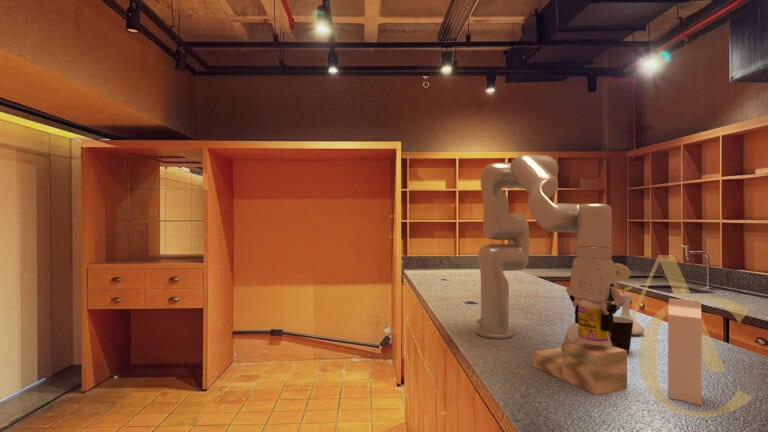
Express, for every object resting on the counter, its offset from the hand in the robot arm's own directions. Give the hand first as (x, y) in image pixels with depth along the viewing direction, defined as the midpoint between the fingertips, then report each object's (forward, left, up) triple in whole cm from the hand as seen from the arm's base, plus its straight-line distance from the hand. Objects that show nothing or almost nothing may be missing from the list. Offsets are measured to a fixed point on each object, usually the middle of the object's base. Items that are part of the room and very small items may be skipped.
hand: (593, 326), depth 100 cm
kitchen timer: (-15, +15, -14) cm, 26 cm away
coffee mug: (-17, +29, -14) cm, 36 cm away
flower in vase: (-31, +51, -14) cm, 61 cm away
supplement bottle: (0, 0, -4) cm, 4 cm away
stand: (-5, 0, -14) cm, 15 cm away
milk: (+13, +13, -14) cm, 23 cm away
